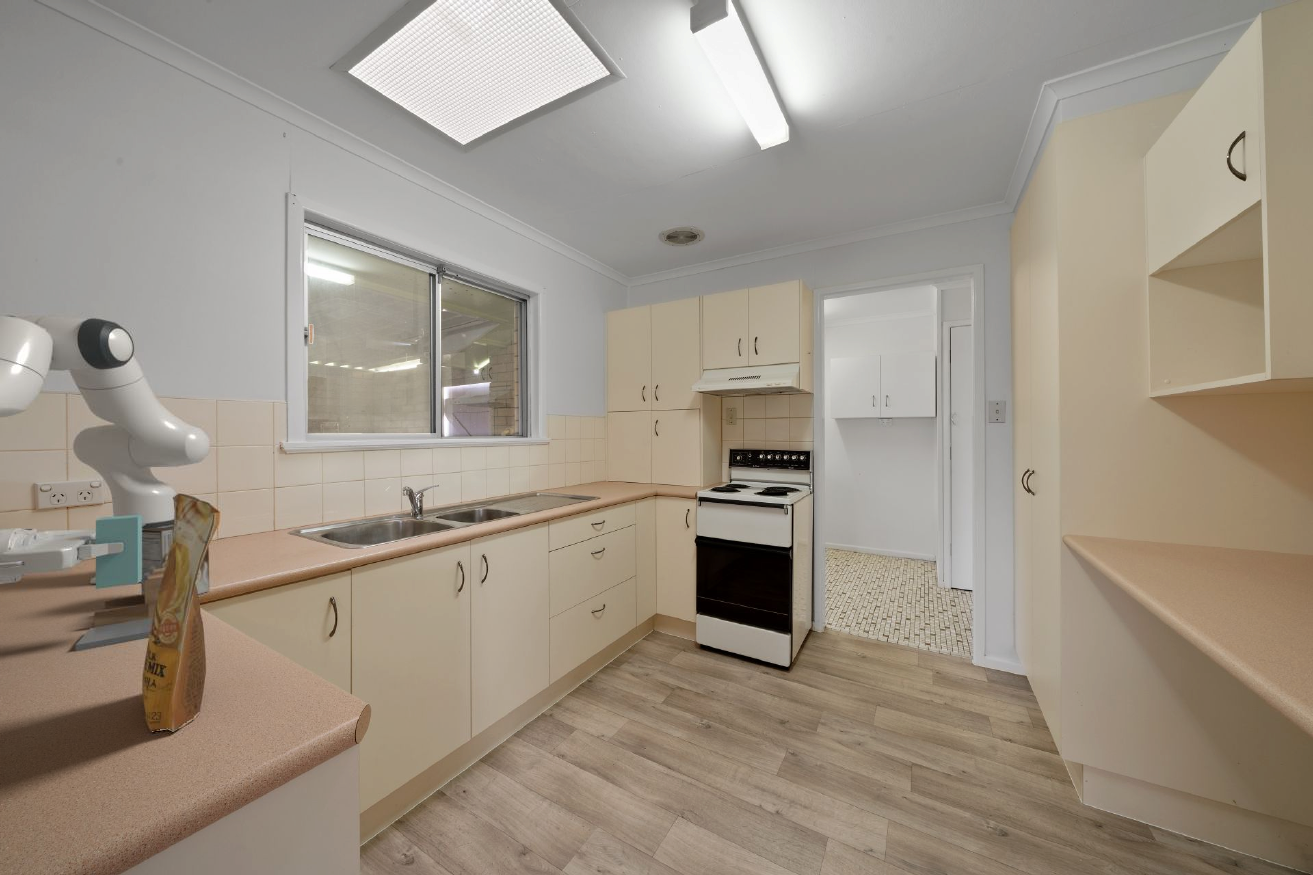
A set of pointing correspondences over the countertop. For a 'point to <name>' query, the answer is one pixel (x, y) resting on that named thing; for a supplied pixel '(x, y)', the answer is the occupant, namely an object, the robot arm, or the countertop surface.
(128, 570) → the tall teal pillar
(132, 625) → the pad
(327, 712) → the countertop surface
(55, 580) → the countertop surface
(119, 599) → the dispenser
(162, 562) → the coffee box
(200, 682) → the pancake mix bag
